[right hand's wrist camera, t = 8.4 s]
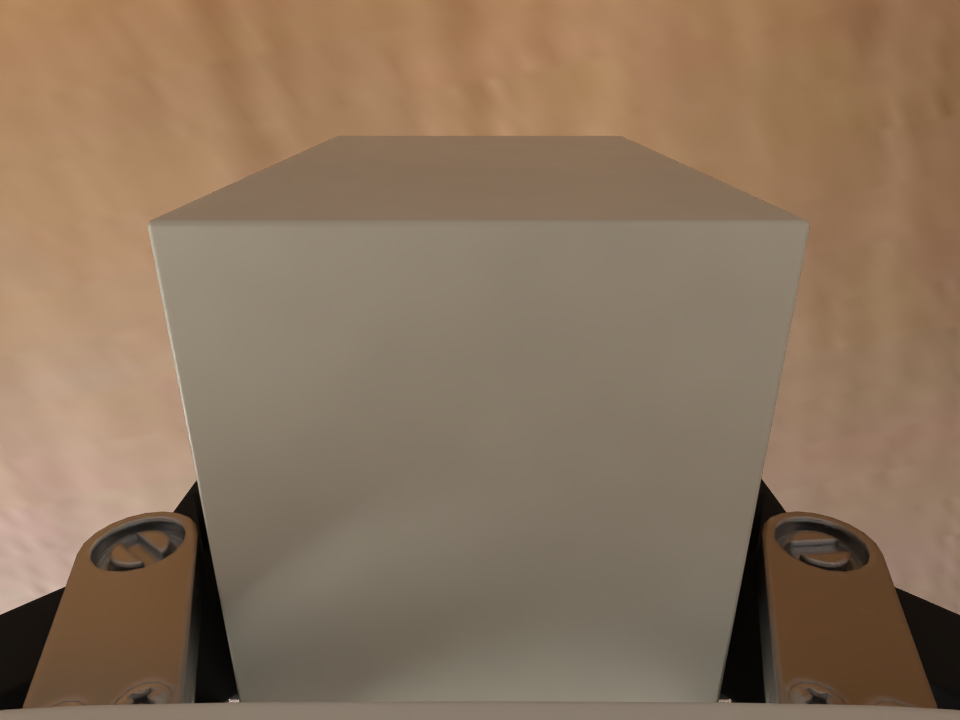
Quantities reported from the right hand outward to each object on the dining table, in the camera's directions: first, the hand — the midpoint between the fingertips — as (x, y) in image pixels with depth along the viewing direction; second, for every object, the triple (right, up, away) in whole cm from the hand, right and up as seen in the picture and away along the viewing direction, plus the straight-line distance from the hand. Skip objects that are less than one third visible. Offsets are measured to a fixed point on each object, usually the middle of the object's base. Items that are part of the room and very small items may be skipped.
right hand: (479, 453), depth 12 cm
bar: (0, -29, +15) cm, 33 cm away
